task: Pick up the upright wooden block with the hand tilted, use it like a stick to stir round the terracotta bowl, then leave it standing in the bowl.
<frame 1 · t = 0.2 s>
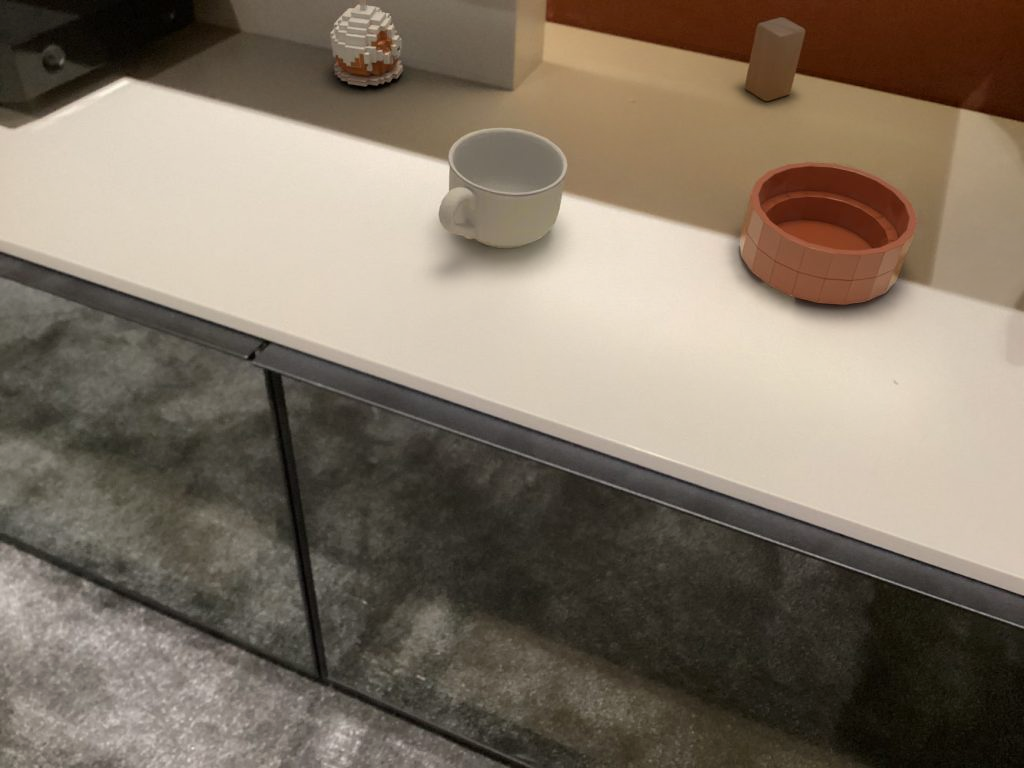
bowl: (816, 259, 90), on the table
decorative ornament: (369, 75, 114), on the table
wooden block: (766, 93, 113), on the table
teacup: (493, 237, 92), on the table
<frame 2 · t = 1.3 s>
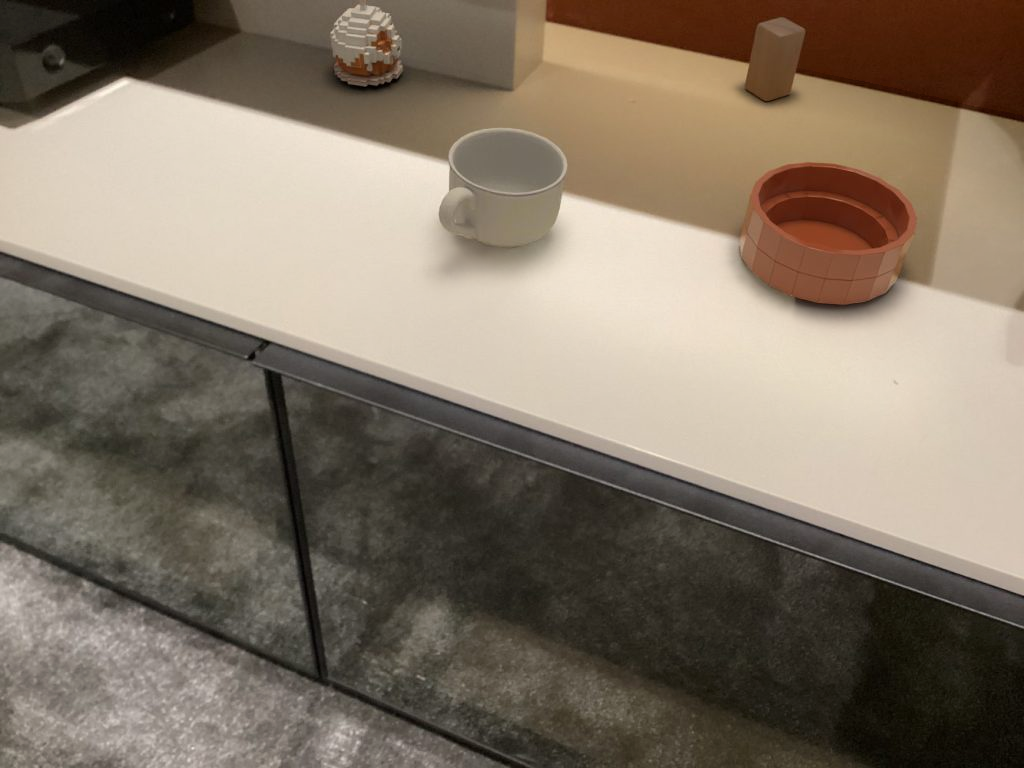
nothing on the table moved.
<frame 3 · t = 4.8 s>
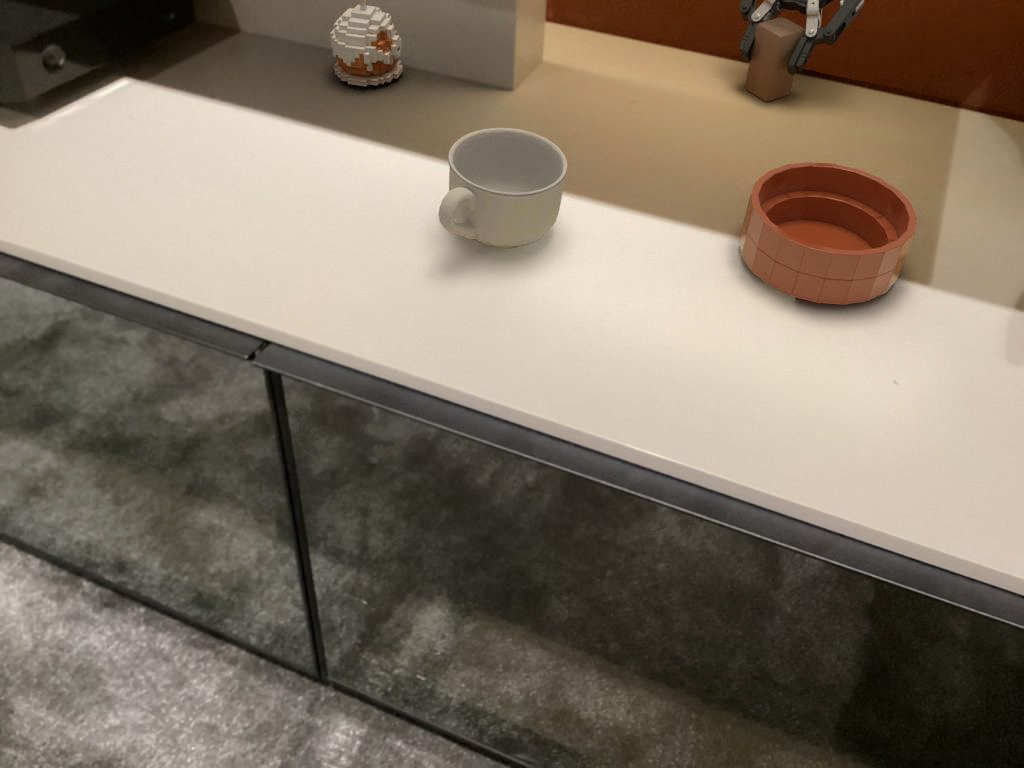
hand: (768, 64, 109), 4 cm above the table, tool tilted 45°, fingers closed on wooden block, 5 cm apart
wooden block: (766, 93, 113), on the table, touching gripper
everything else where it was.
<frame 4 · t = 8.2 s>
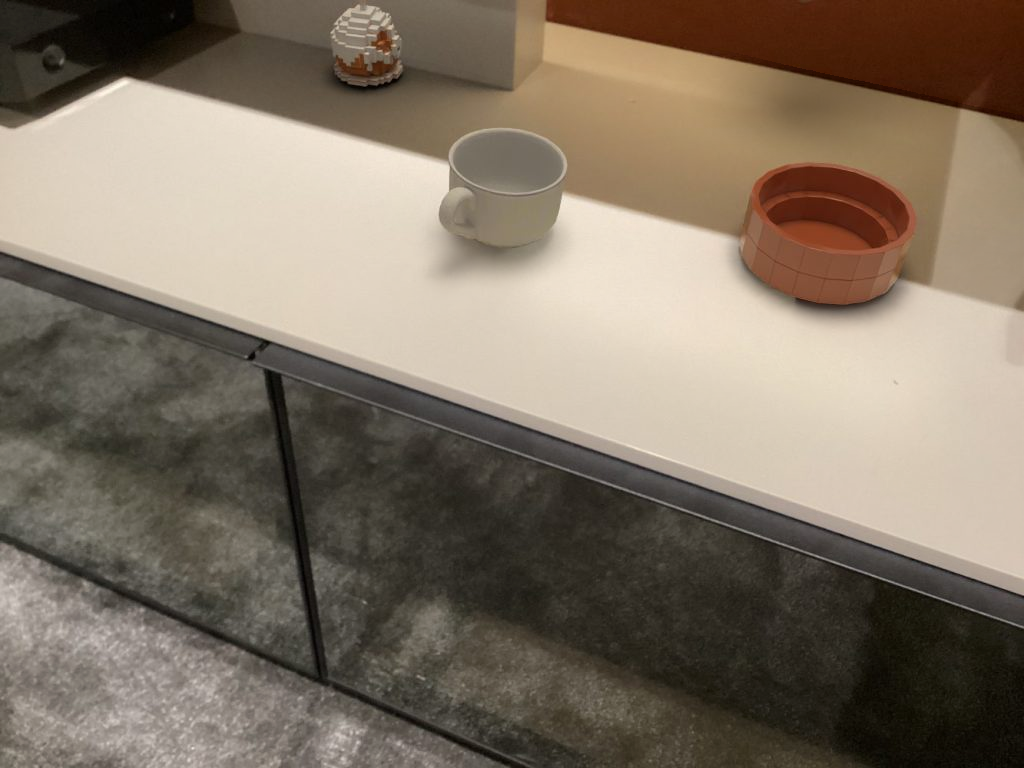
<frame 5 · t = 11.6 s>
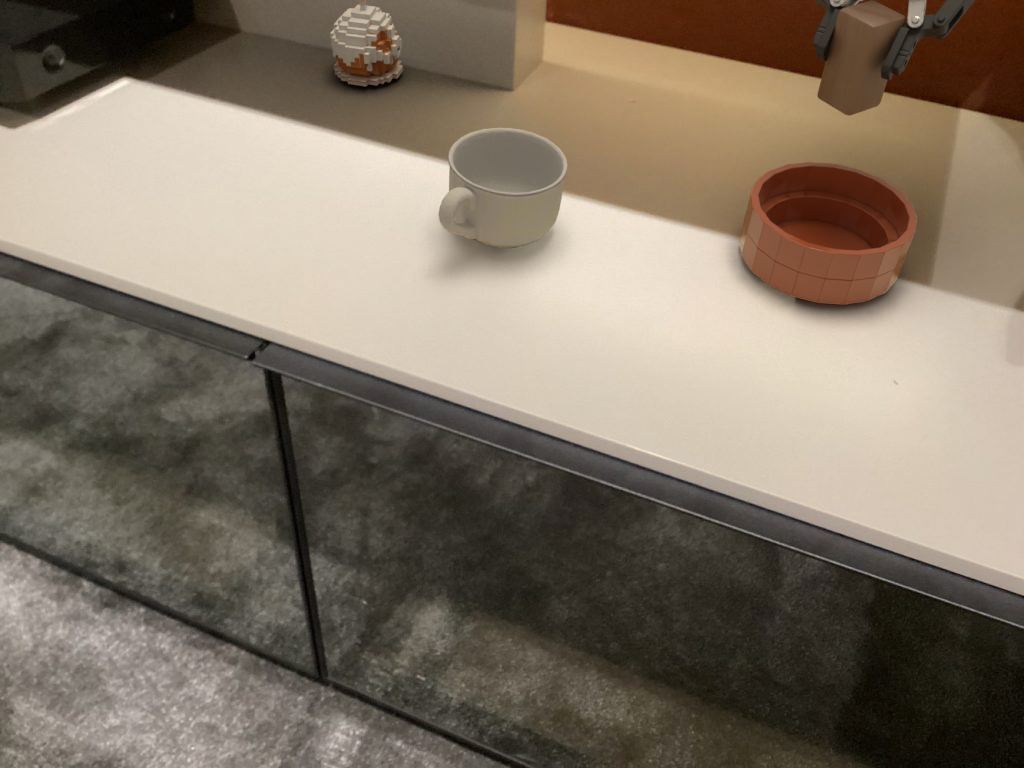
hand: (853, 65, 79), 18 cm above the table, tool tilted 45°, fingers closed on wooden block, 5 cm apart
wooden block: (847, 104, 84), point 13 cm above the table, touching gripper
everything else where it was.
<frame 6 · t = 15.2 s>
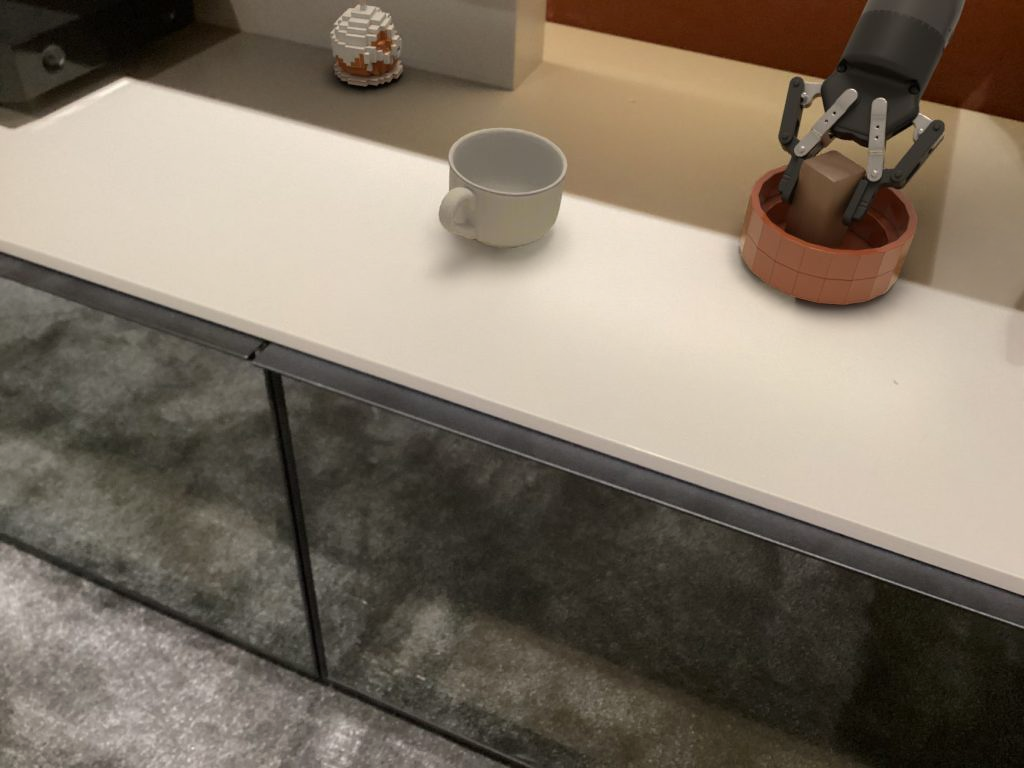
hand: (816, 212, 83), 7 cm above the table, tool tilted 45°, fingers closed on wooden block, 5 cm apart
wooden block: (811, 242, 87), point 3 cm above the table, touching gripper
everything else where it was.
when the fingers open (5 cm above the table, at t = 18.3 s): wooden block stays where it is, resting on bowl.
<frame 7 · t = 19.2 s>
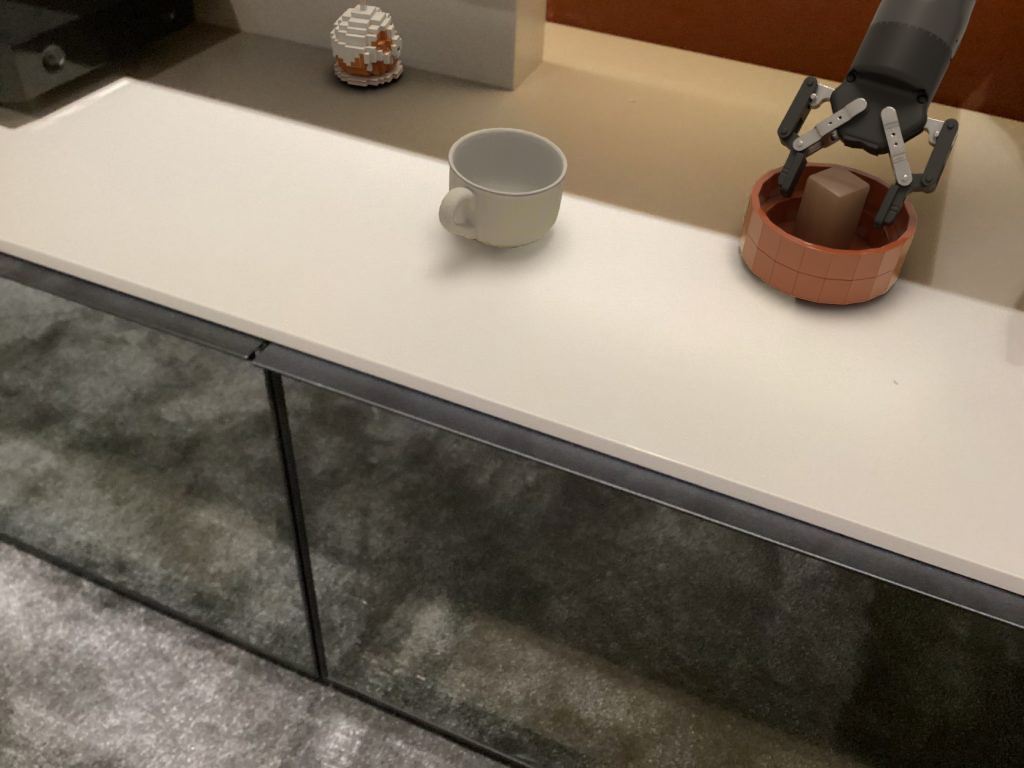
hand: (829, 211, 85), 6 cm above the table, tool tilted 45°, fingers open, 8 cm apart
wooden block: (816, 255, 90), resting on bowl
everything else where it was.
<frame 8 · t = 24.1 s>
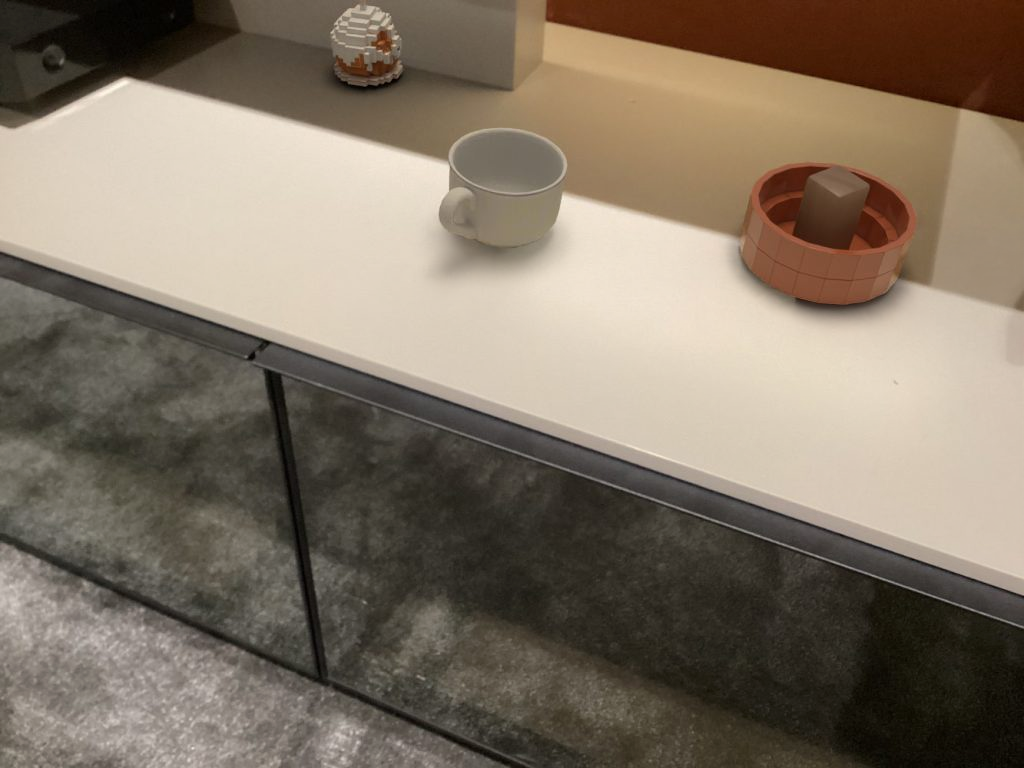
nothing on the table moved.
at the end: wooden block inside the target area in the bowl (0.1 cm from its centre), point 0.4 cm above the bowl's base; the gripper is holding nothing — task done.
